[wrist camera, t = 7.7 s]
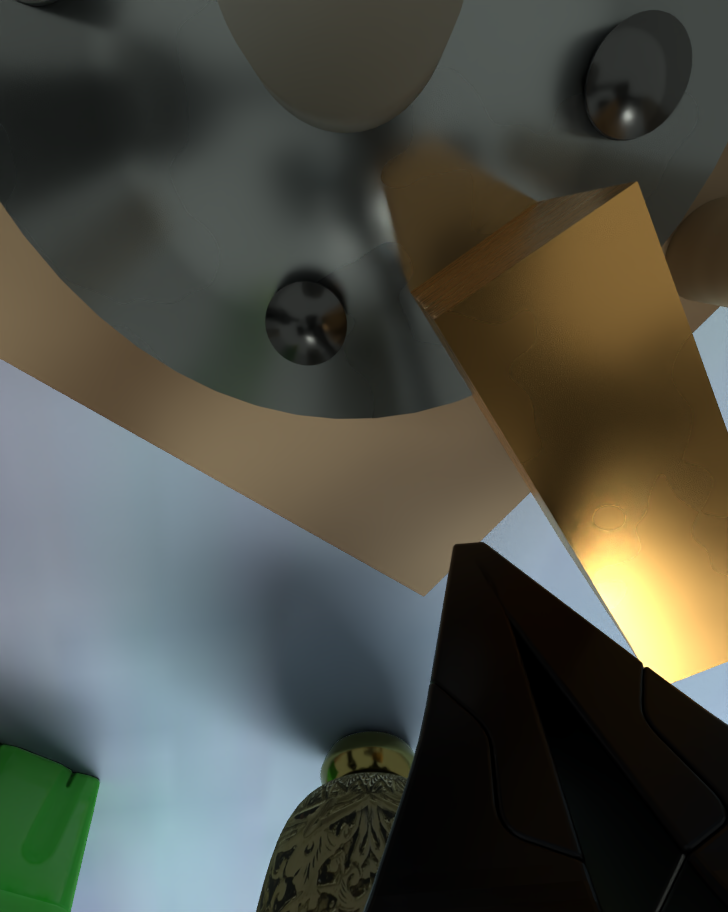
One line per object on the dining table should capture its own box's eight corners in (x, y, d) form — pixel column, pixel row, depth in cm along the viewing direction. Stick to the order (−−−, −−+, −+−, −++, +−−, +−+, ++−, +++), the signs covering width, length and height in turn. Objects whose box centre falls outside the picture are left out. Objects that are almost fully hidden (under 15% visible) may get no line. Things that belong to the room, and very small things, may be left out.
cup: (267, 685, 15) (182, 1081, 8) (480, 688, 15) (582, 1082, 8) (279, 804, 19) (227, 1161, 11) (455, 806, 19) (513, 1161, 12)
